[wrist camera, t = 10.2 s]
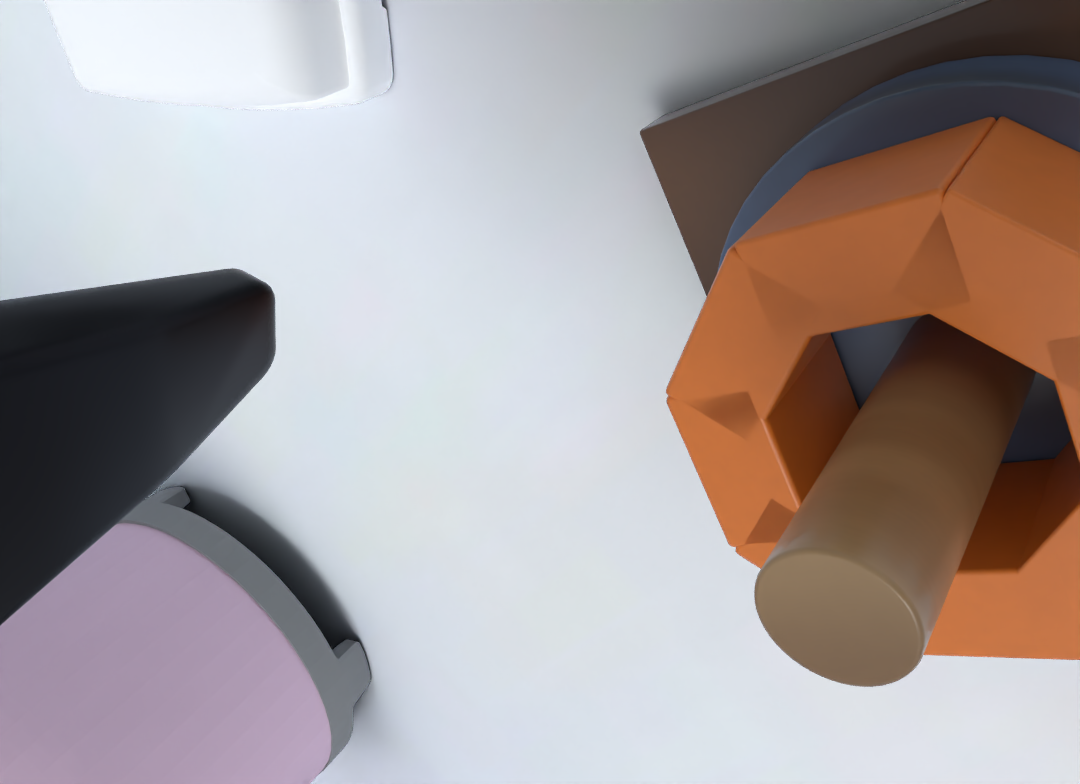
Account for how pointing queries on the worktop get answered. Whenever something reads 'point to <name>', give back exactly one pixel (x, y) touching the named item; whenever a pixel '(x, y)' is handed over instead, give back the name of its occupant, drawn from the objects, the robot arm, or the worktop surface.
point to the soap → (228, 51)
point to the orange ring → (892, 294)
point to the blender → (171, 665)
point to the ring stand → (891, 347)
